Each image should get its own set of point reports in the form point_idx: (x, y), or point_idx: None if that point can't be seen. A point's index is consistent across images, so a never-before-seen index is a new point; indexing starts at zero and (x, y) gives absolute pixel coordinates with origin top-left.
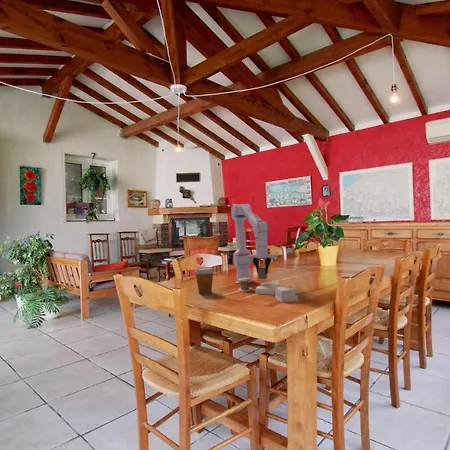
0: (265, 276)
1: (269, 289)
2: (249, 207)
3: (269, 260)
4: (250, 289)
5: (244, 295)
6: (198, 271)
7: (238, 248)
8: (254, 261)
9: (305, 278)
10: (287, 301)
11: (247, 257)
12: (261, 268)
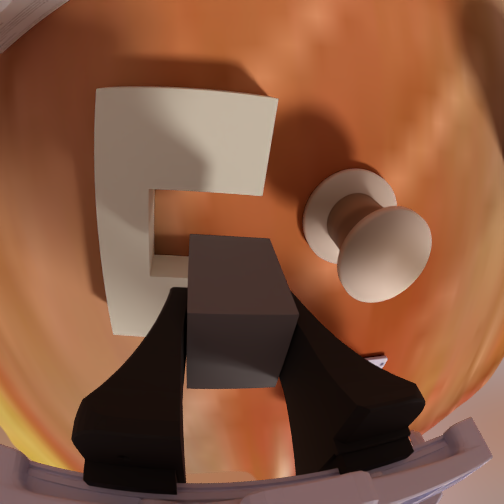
0: (188, 263)
1: (140, 88)
2: None
3: (74, 422)
4: (316, 202)
5: (348, 45)
6: None
7: None
8: (393, 389)
9: None
10: None
11: (479, 432)
12: (246, 337)
